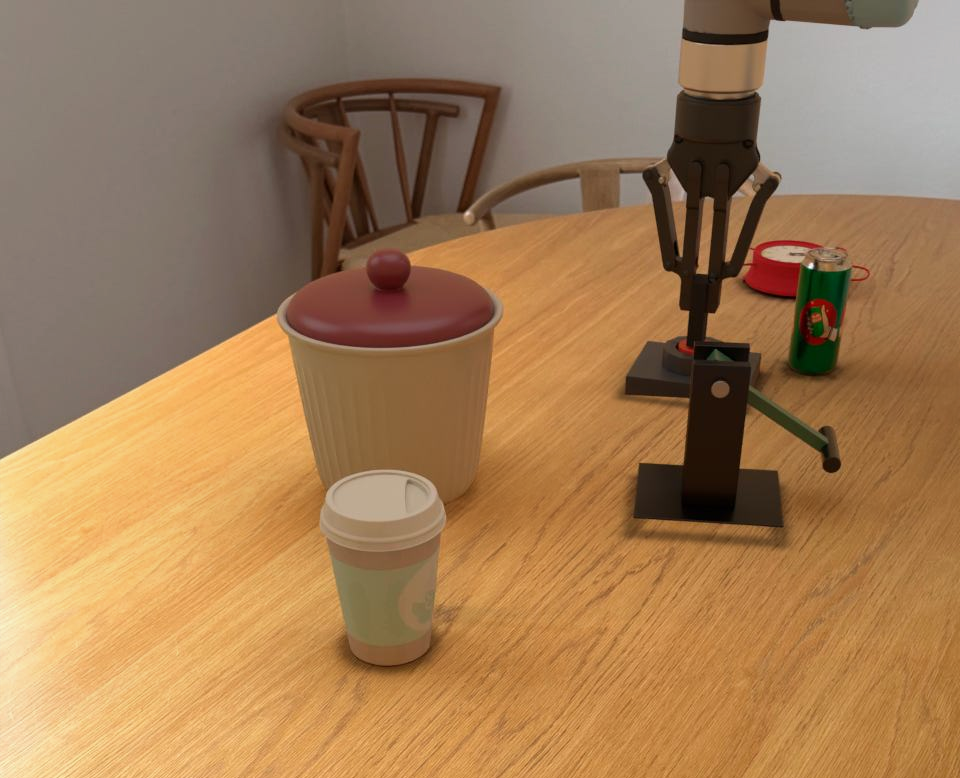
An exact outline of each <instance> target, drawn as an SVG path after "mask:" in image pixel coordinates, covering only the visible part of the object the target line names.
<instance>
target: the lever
mask: <svg viewBox="0 0 960 778" xmlns="http://www.w3.org/2000/svg"><path fill="white" fill-rule="evenodd" d="M707 360H716V361H733V360H731V359H730V358H728V357H727V356H725V355H724V354H723V353H721V352H720V351H718V350H717V349H715V350H714V351H713V352H712V353H711V355H710V356H709V357H708V358H707ZM747 405H749V406H751V407H752V408H754V409H755V410H757V411H758V412H759V413H761V414H762V415H764V416H766V417H767V418H768V419H770V420H771V421H773V422H774V423H776V424H777V425H779V427H781V428H782V429H784V430H786V431H787V432H789V433H790V434H791V435H793V436H795V437H796V438H798V439H799V440H801V442H803V443H805V444H806V445H808V446H809V447H811V448H812V449H814V450H815V451H816V452H818V453H819V454H820V460H821V465H822V469H823V471H824V472H826V473H828V474H834V473H837V472H839V470H840V469H841V467H842V461H841V456H840V455H841V454H840V450H839V444H838V440H837V435H836V431H835V428H833V427H832V426H830V425H824V426H821V427H820V428H819V429H818V430H817V429H815V428H814V427H812V426H810V425H809V424H807V423H806V422H805V421H803V420H801V419H800V418H798V417H797V416H796V415H795V414H793V413H791V412H790V411H788V410H787V409H785V408H784V407H782V406H781V405H780V404H779V403H777V402H775V401H774V400H772V399H771V398H769V397H768V396H766V395H765V394H763V393H762V392H761V391H759V390H757V389H756V388H755V387H754V388H753V387H752V386H750V385H749V393H748V401H747Z"/></svg>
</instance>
